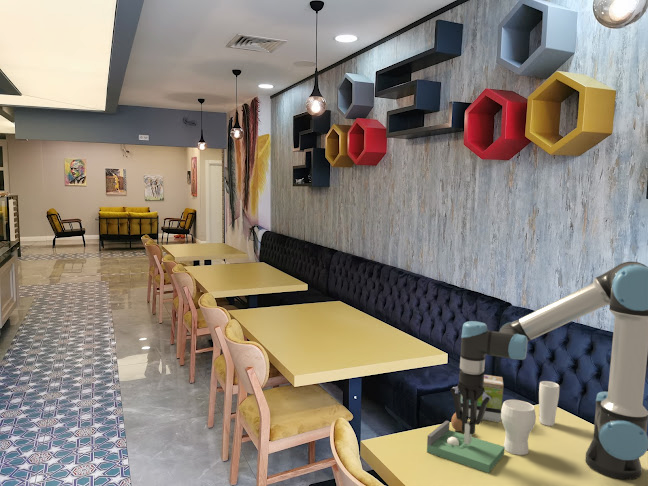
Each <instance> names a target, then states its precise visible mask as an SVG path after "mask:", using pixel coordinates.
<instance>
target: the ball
mask: <svg viewBox="0 0 648 486" xmlns="http://www.w3.org/2000/svg"><path fill="white" fill-rule="evenodd" d="M447 443H448V444H449V445H452V446H459V441H458V439H457V438H455V437H450V438H448V439H447Z"/></svg>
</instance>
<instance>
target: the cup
mask: <svg viewBox="0 0 648 486" xmlns="http://www.w3.org/2000/svg"><path fill="white" fill-rule="evenodd" d="M536 417H537V415H536V409H535V406H534V405H533V404H531V403H530V402H527V401H524V400H519V399H506V400H505V401H503V402H502V409H501V422H502V425H503V428H504V430H505V438H504V443H503V447H505V449H504V451H506V452H508V453H510V454H514V455H517V456H525V455H528V454H529V441H528V440H529V436H530V433H531V432H532V430H533V429H534V427H535V424H536V420H537V419H536Z"/></svg>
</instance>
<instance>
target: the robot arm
mask: <svg viewBox="0 0 648 486" xmlns="http://www.w3.org/2000/svg"><path fill="white" fill-rule="evenodd" d="M605 306H609V311H610V312H611V314H612V315H613V316H614V321H613V323H614V324H613V333H612V334H613V335H612V345H611V355H610V364H609V365H610V366H609V379H608V387H607V388H608V389H607V390H608V391H600V392H598V393H596V399H595V413H594V415H595V416H594V423H593V424H594V426H593V437H592V440H591V441H590V444H589V446H588V447H587V450H586V452H585V459H584V461H585V463H586V465H587V466H588V467H589V468H590V469H591V470H594V471H595V472H597V473H599V474H601V475H604V476H607V477H610V478H613V479H620V480H627V481H628V480H629V481H630V480H636V479H639V478H641V476H642V469H643V468H642V463H641V460H640V458H641V457H643V456H644V455H645V454H646V452H648V434H647V432H648V431H647V428H648V410H647V408H646V407H645V406H644V405H643V402H644V394H645V383H646V373H647V365H648V364H647V363H648V362H647V361H648V266H647V265H645V264H643V263H641V262H637V261H625V262H622V263H620V264H618V265H616V266H614V267H613V268H611V269H609V270H608V271H605V272H604V273H602V274H600V275H599V276H597V277H595V278H594V280H593V282H592V283H590V284H587V285H586V286H584V287H582V288H580V289H577V290H575V291H574V292H571V293H570V294H568V295H566V296H563V297H562V298H559V299H557V300H555V301H553V302H551V303H548V304H547V305H545V306H543V307H541V308H539V309H537V310H534V311H533V312H531V313H528V314H527V315H524V316H522V317H520V318H519V319H517V320H514V321H512V322H511V321H510V322H507V323H505V324H503V325H502V326H501V327H500V329H499V331H493V330H489V329H488V325H487V324H486V323H485V322H481V321H475V320H474V321H473V320H471V321H470V320H469V321H466V322H464V323H463V324H462V331H461V339H460V340H461V342H460V359H459V369H460V370H459V376H458V383H457V386H453V387H452V388H450V392H451V395H452V398H453V404H454V410H455V413H456V417H457V419H460V420H461V421H462V431H461V432H463V434H464V444H467V445H469V444H470V443H471V441H472V437H473V435H474V434H475V433H476V425H477V426H479V425H480V424H481V423H482V421H483V416H484V413H485V410H486V407H487V404H488V402H489V401H490V399H491V398H492V397H491V396H490V395H489V396H488V395H487V394H486V393H485V390H484V387H483V385H484V375H485V366H486V365H485V364H486V356H487V355H488V356H493V357H498V358H504V359H505V358H506V359H511V360H519V361H520V360H521V361H523V360H525V359H526V358H527V354H528V353H527V352H528V342H529V341H532V340H534V339H537V338H538V337H540V336H542V335H544V334H547V333H548V332H551V331H553V330H556V329H558V328H560V327H562V326H564V325H566V324H568V323H570V322H573V321H575V320H577V319H580V318H582V317H584V316H586V315H588V314H590V313H592V312H595V311H597V310H598V309H601V308H603V307H605ZM461 395H462V396H463V410H462V407H461V401H460V400H461ZM481 396H483V397H482V400H483V402H482V404H481V407H480V410H479V413H478V416H477V418H476V415H477V402H478V399H479V398H480V397H481ZM469 400H470V404H471V409H470V417H468V415H469Z"/></svg>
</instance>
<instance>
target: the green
mask: <svg viewBox="0 0 648 486" xmlns="http://www.w3.org/2000/svg"><path fill="white" fill-rule="evenodd" d="M450 424H451V421H449V420H445V421H444V422H443V423H442V424H440V425H439V426H437V427H436V428H435V429H434V430H433V431H432V432H431V433H429V434H428V435H427V440H426V441H427V442H426V443H427V444H426V453H428V454H432V455H435V456H437V457H441V458H443V459H446V460H449V461H452V462H455V463H458V464H460V465H464V466H466V467H469V468H472V469H475V470H478V471H481V472H484V473H487V474H490V472H491V471H492V470H493V468H494V467H495V466H496V465H497V464H498V462H499V461H500V460H501V459H502V458H503V456H504V455H505V447H504V445H499V444H496V443H493V442H490V441H487V440H483V439H480V438H476V437H473V436H472V441H471V443H470V444H469V445H467V444H464V433H461V432H459V431H455V430H454V431H453V430H451V429H450ZM450 437H455V438H457V439H458V441H459V446H452V445H449V444H448V443H447V439H448V438H450Z"/></svg>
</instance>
